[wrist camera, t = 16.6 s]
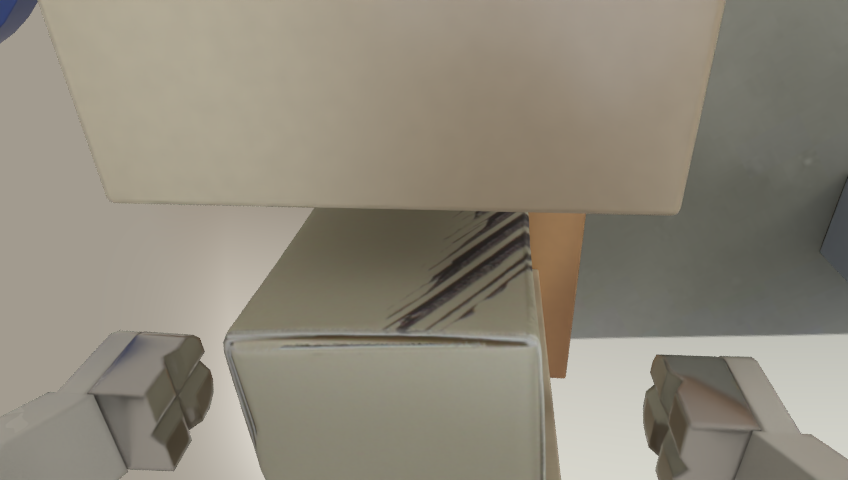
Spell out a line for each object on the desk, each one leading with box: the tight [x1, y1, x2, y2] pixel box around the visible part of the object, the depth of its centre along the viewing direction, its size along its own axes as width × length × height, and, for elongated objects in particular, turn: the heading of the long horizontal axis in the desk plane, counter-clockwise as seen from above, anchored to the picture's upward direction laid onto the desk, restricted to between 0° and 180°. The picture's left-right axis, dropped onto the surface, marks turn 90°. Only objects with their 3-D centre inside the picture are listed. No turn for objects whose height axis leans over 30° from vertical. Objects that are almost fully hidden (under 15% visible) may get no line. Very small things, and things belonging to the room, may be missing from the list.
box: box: [223, 208, 546, 480], centre depth 14 cm, size 5×4×13 cm
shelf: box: [37, 0, 726, 480], centre depth 21 cm, size 9×20×31 cm, turn 2°
